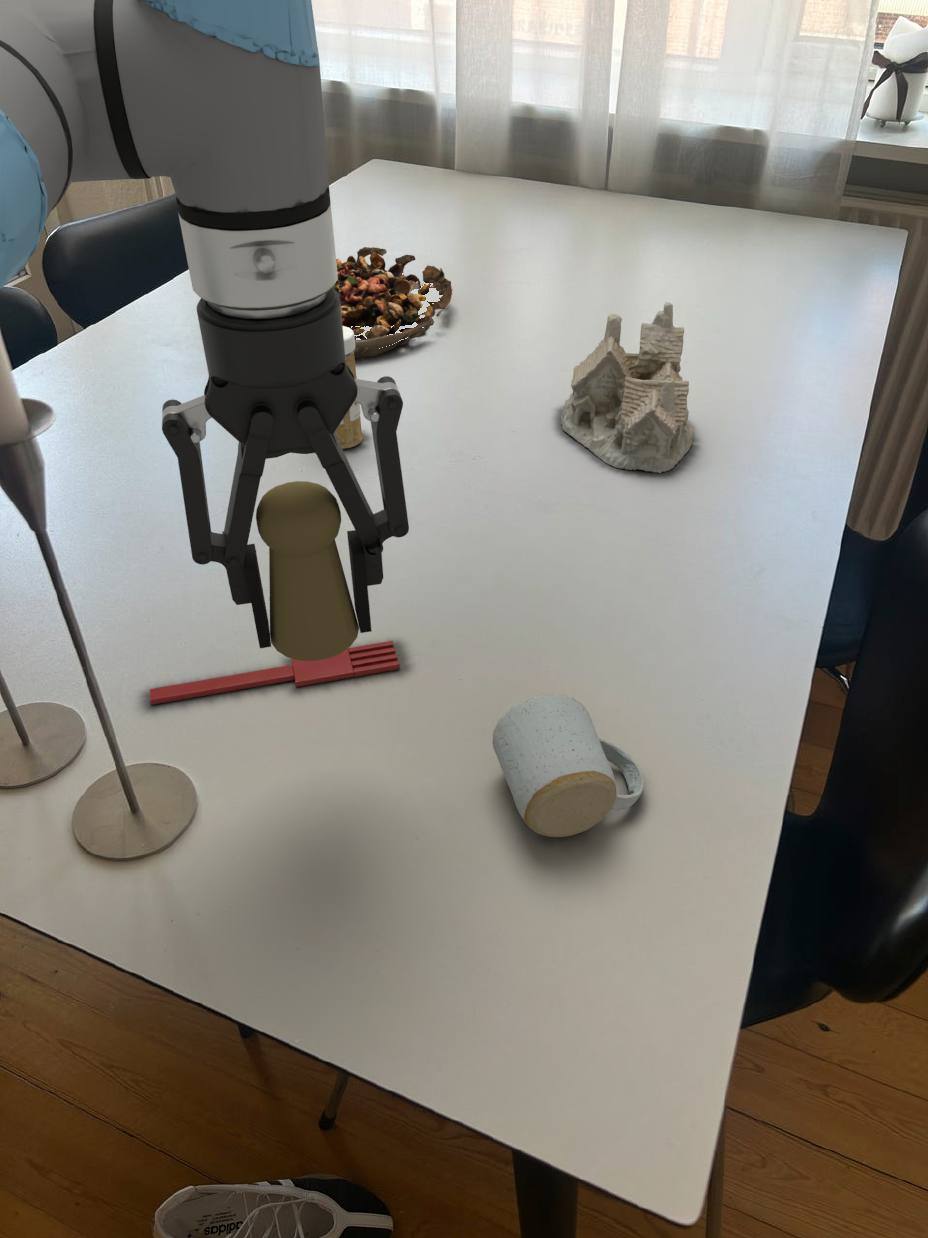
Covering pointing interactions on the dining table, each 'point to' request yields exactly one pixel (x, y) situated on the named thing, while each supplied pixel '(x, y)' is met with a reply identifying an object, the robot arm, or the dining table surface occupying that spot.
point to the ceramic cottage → (632, 398)
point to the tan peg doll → (306, 572)
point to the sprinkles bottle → (351, 423)
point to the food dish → (386, 300)
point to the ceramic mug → (561, 766)
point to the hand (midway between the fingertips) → (313, 626)
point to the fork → (290, 673)
